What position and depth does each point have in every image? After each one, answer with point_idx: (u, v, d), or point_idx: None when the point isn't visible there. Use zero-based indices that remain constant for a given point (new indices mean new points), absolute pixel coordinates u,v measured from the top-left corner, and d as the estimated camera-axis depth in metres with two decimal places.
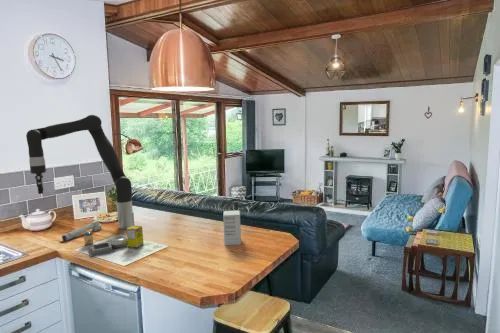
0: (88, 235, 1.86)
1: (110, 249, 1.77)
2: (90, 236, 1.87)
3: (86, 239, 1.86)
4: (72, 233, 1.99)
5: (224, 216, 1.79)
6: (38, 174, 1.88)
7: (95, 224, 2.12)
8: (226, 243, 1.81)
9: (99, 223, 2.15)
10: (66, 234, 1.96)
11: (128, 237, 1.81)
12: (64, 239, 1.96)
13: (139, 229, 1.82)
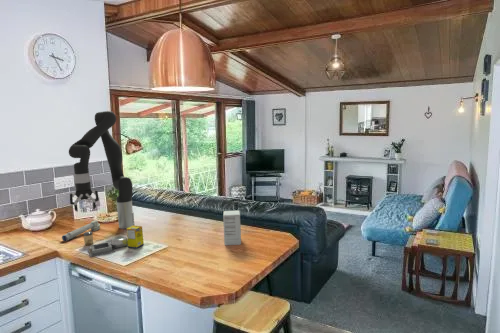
0: (88, 235, 1.86)
1: (110, 249, 1.77)
2: (90, 236, 1.87)
3: (86, 239, 1.86)
4: (72, 233, 1.99)
5: (224, 216, 1.79)
6: None
7: (94, 224, 2.13)
8: (226, 243, 1.81)
9: (98, 223, 2.16)
10: (66, 234, 1.96)
11: (128, 237, 1.81)
12: (64, 239, 1.95)
13: (139, 229, 1.82)
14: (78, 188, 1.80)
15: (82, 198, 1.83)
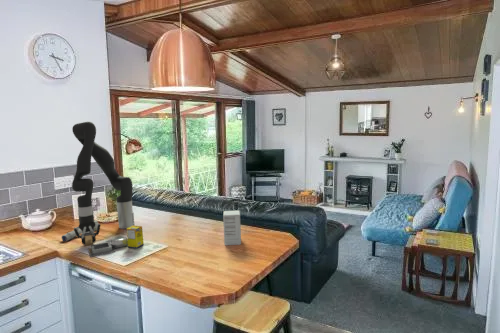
0: (88, 235, 1.86)
1: (110, 249, 1.77)
2: (90, 236, 1.87)
3: (86, 239, 1.86)
4: (72, 233, 1.98)
5: (224, 216, 1.79)
6: None
7: None
8: (226, 243, 1.81)
9: None
10: (66, 234, 1.96)
11: (128, 237, 1.81)
12: (64, 239, 1.95)
13: (139, 229, 1.82)
14: (81, 221, 1.83)
15: (87, 230, 1.86)
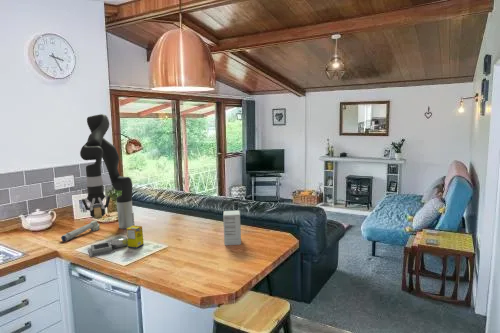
0: (97, 207, 1.74)
1: (110, 249, 1.77)
2: (99, 208, 1.75)
3: (95, 211, 1.74)
4: (71, 233, 1.98)
5: (224, 216, 1.79)
6: (103, 193, 1.77)
7: (93, 224, 2.12)
8: (226, 243, 1.81)
9: (97, 223, 2.15)
10: (65, 234, 1.96)
11: (128, 237, 1.81)
12: (64, 239, 1.95)
13: (139, 229, 1.82)
14: (90, 192, 1.71)
15: (96, 201, 1.74)
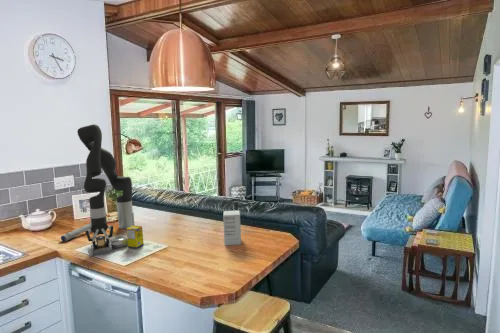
0: (101, 239, 1.76)
1: (110, 249, 1.77)
2: (103, 240, 1.77)
3: (99, 244, 1.76)
4: (71, 233, 1.98)
5: (224, 216, 1.79)
6: (106, 224, 1.79)
7: None
8: (226, 243, 1.81)
9: None
10: (65, 234, 1.96)
11: (128, 237, 1.81)
12: (63, 240, 1.95)
13: (139, 229, 1.82)
14: (94, 223, 1.73)
15: (99, 233, 1.76)
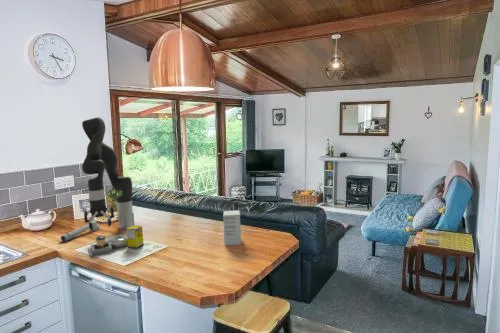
0: (101, 239, 1.76)
1: (110, 249, 1.77)
2: (103, 240, 1.77)
3: (99, 244, 1.76)
4: (71, 233, 1.98)
5: (224, 216, 1.79)
6: None
7: (93, 224, 2.12)
8: (226, 243, 1.81)
9: None
10: (65, 235, 1.95)
11: (128, 237, 1.81)
12: (63, 240, 1.95)
13: (139, 229, 1.82)
14: (93, 205, 1.72)
15: (97, 215, 1.75)
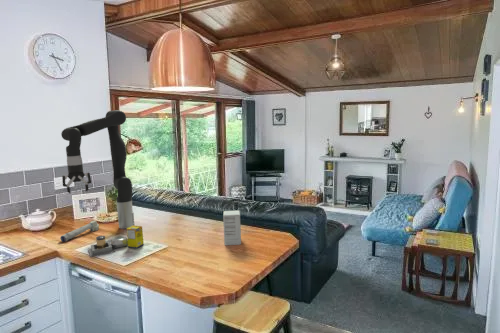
0: (101, 239, 1.76)
1: (110, 249, 1.77)
2: (103, 240, 1.77)
3: (99, 244, 1.76)
4: (71, 233, 1.98)
5: (224, 216, 1.79)
6: (83, 172, 1.90)
7: (93, 224, 2.12)
8: (226, 243, 1.81)
9: None
10: (65, 235, 1.95)
11: (128, 237, 1.81)
12: (63, 240, 1.95)
13: (139, 229, 1.82)
14: (70, 170, 1.84)
15: (75, 180, 1.87)
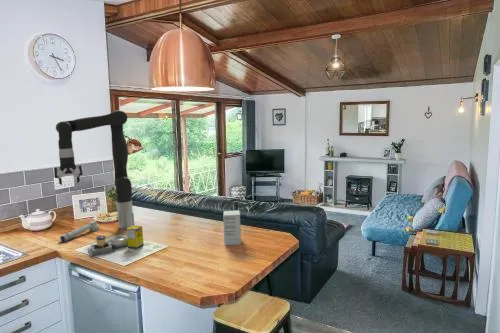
0: (101, 239, 1.76)
1: (110, 249, 1.77)
2: (103, 240, 1.77)
3: (99, 243, 1.76)
4: (70, 234, 1.98)
5: (224, 216, 1.79)
6: (74, 164, 1.96)
7: (93, 224, 2.12)
8: (226, 243, 1.81)
9: (96, 223, 2.15)
10: (64, 235, 1.95)
11: (128, 237, 1.81)
12: (62, 240, 1.94)
13: (139, 229, 1.82)
14: (62, 162, 1.90)
15: (66, 172, 1.93)
